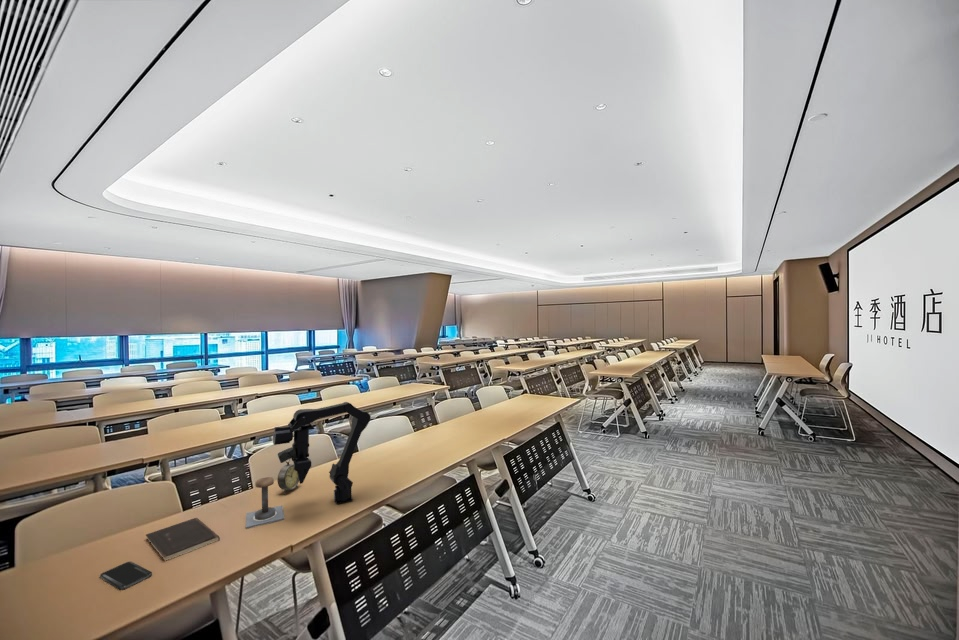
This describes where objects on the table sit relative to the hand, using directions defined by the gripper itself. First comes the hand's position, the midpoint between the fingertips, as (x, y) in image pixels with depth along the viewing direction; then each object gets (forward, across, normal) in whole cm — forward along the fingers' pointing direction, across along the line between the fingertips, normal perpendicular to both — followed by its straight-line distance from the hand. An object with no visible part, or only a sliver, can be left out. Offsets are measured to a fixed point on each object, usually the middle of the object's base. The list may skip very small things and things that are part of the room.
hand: (300, 479), depth 162 cm
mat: (+14, -3, -12) cm, 19 cm away
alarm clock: (+13, -26, -2) cm, 29 cm away
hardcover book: (+16, 0, -38) cm, 41 cm away
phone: (+16, +17, -50) cm, 55 cm away
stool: (+13, -3, -12) cm, 18 cm away
